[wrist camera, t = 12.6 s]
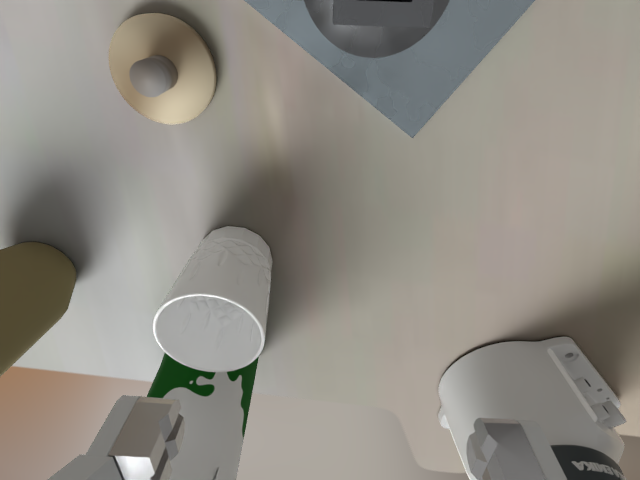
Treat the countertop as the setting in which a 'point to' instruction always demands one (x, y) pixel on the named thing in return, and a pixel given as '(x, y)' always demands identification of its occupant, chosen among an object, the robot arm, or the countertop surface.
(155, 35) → the stand
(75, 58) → the countertop surface
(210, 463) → the milk carton
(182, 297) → the white cup
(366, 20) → the square hollow frame
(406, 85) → the grey plate with knob
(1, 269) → the squeeze bottle
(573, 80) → the countertop surface
